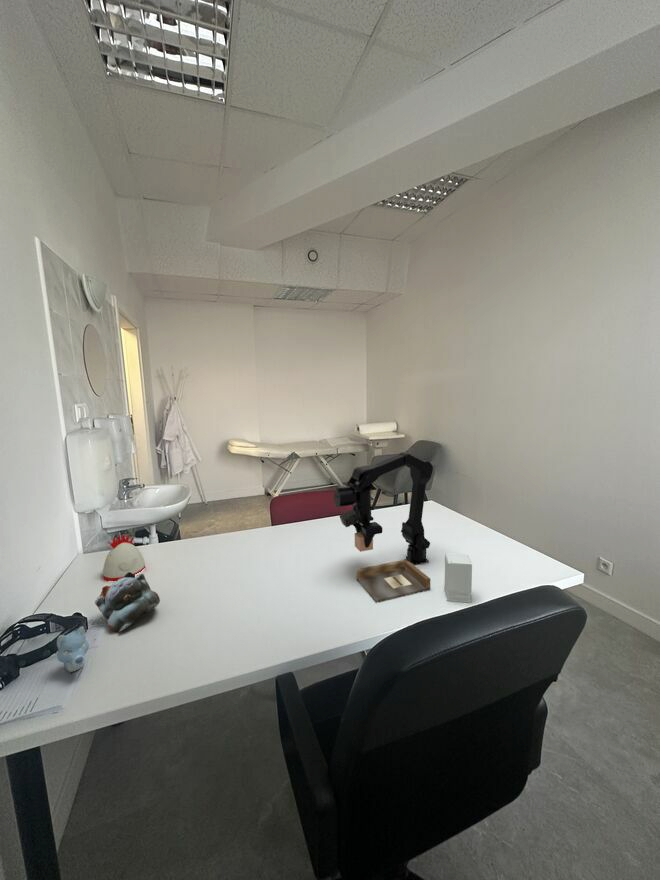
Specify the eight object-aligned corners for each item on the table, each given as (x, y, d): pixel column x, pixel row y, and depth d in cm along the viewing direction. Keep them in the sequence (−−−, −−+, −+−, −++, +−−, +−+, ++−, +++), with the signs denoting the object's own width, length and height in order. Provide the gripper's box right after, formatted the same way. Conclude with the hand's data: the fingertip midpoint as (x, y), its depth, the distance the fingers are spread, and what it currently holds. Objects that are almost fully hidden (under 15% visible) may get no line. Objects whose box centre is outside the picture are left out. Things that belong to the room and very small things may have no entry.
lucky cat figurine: (107, 640, 97) (85, 593, 98) (112, 633, 108) (92, 590, 109) (163, 607, 105) (142, 564, 106) (162, 603, 115) (144, 564, 116)
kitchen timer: (98, 573, 135) (94, 535, 133) (137, 560, 145) (134, 525, 143) (110, 586, 126) (105, 545, 124) (151, 571, 136) (147, 533, 134)
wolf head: (66, 688, 81) (60, 648, 80) (56, 669, 87) (52, 631, 86) (97, 672, 86) (93, 634, 85) (86, 655, 92) (82, 619, 90)
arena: (406, 569, 133) (406, 559, 132) (430, 589, 119) (430, 578, 118) (356, 580, 126) (356, 569, 126) (376, 602, 112) (376, 590, 112)
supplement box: (471, 603, 111) (472, 564, 109) (446, 601, 112) (447, 562, 111) (467, 590, 118) (468, 554, 116) (444, 588, 119) (444, 552, 118)
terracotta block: (354, 546, 131) (354, 533, 131) (367, 543, 133) (366, 530, 132) (360, 551, 127) (360, 538, 126) (373, 549, 128) (372, 535, 128)
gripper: (333, 498, 134) (334, 538, 136) (352, 513, 116) (353, 559, 118) (360, 495, 138) (361, 534, 139) (382, 509, 120) (383, 553, 122)
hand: (363, 544), depth 130 cm, fingers closed on terracotta block, 5 cm apart
